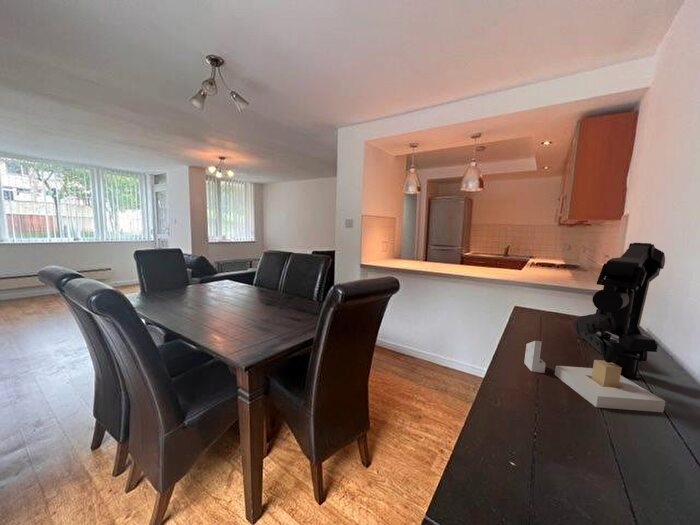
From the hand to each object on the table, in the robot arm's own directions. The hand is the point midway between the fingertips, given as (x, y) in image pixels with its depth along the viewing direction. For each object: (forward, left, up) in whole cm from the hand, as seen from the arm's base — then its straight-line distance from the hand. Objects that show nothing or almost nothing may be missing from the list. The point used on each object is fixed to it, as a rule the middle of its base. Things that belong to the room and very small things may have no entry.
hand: (607, 362), depth 78 cm
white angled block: (+12, -12, -9) cm, 19 cm away
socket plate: (0, 0, -9) cm, 9 cm away
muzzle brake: (-23, -32, -9) cm, 40 cm away
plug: (0, 0, -8) cm, 8 cm away
